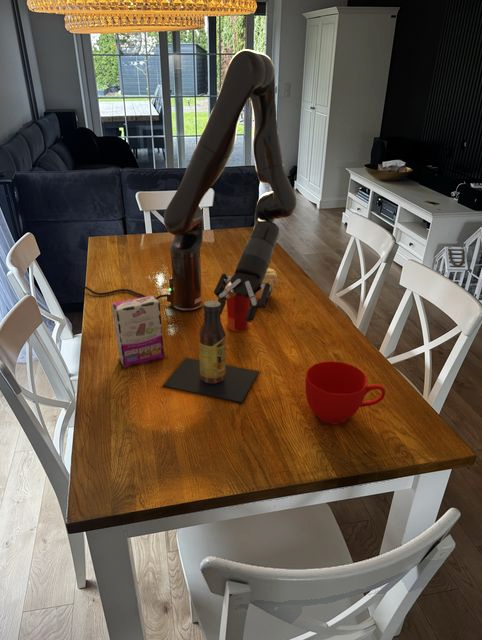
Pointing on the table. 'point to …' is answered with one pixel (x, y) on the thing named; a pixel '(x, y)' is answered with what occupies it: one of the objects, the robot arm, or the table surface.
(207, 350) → the sauce bottle
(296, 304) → the table surface
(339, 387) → the ceramic cup
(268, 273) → the sculpture
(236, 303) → the paper cup
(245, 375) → the placemat
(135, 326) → the candy bar box
